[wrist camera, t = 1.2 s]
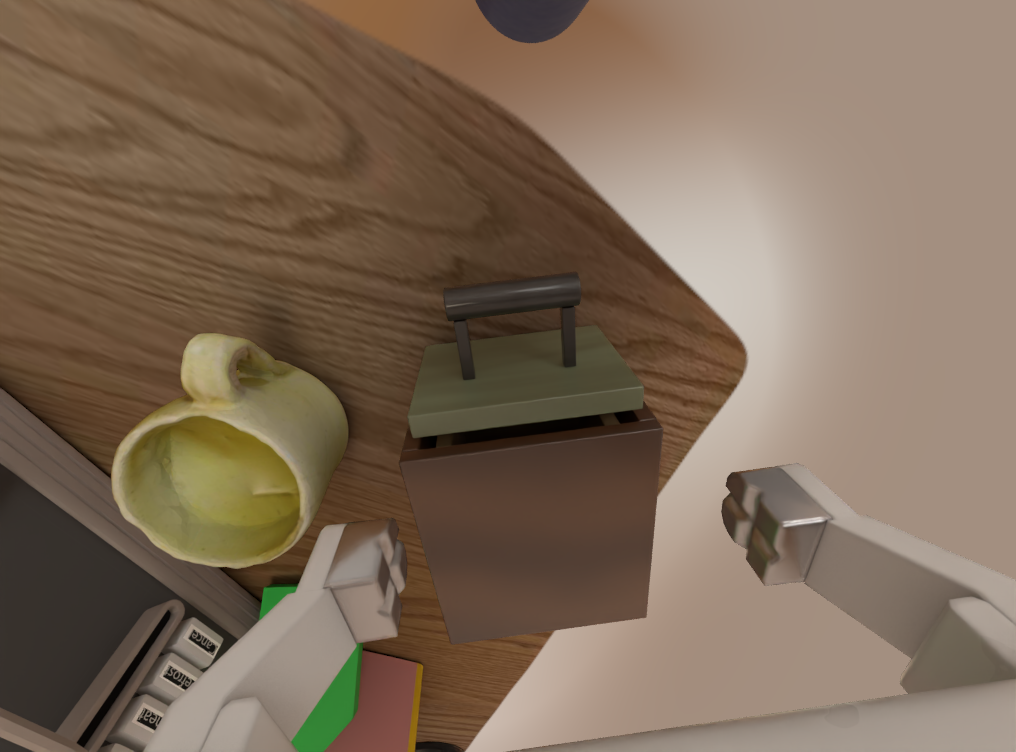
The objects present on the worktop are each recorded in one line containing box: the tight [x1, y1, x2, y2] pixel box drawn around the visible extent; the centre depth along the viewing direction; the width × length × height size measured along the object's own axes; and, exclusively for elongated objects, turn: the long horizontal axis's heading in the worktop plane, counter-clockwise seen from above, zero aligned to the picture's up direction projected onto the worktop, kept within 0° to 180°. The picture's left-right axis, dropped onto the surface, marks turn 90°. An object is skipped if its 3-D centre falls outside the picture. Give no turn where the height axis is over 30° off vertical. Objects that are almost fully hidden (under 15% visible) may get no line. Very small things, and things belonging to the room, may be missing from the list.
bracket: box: [259, 584, 363, 752], centre depth 35 cm, size 12×8×7 cm
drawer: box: [407, 272, 644, 448], centre depth 23 cm, size 17×10×8 cm, turn 6°
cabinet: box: [399, 401, 663, 645], centre depth 25 cm, size 14×12×10 cm
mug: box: [111, 333, 349, 569], centre depth 23 cm, size 12×10×10 cm
